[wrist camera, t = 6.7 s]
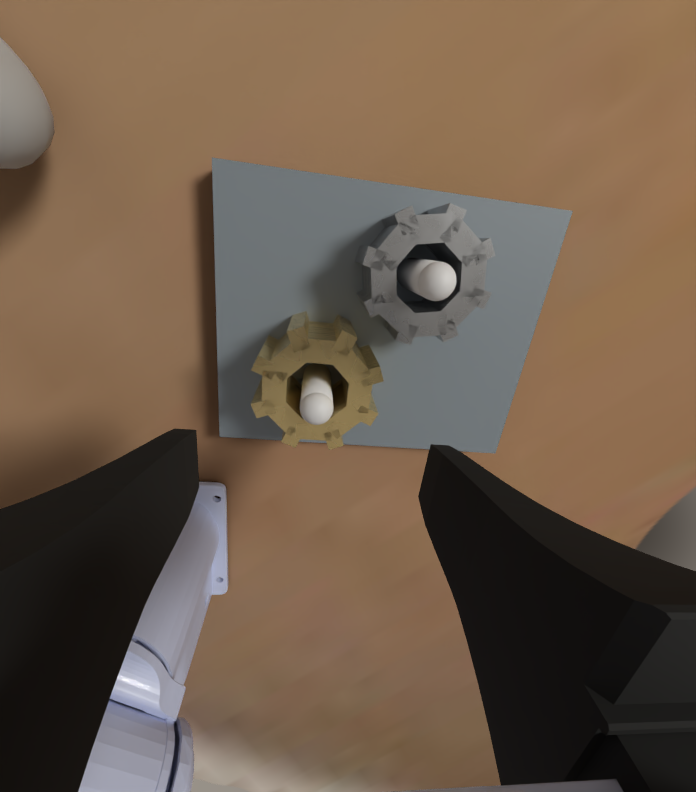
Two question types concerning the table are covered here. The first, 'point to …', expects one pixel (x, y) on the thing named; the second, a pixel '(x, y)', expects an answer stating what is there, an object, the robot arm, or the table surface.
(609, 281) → the table surface
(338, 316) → the brass gear
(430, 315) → the fixed gear
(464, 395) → the gear board
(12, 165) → the donut
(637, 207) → the table surface
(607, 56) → the table surface
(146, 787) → the robot arm
